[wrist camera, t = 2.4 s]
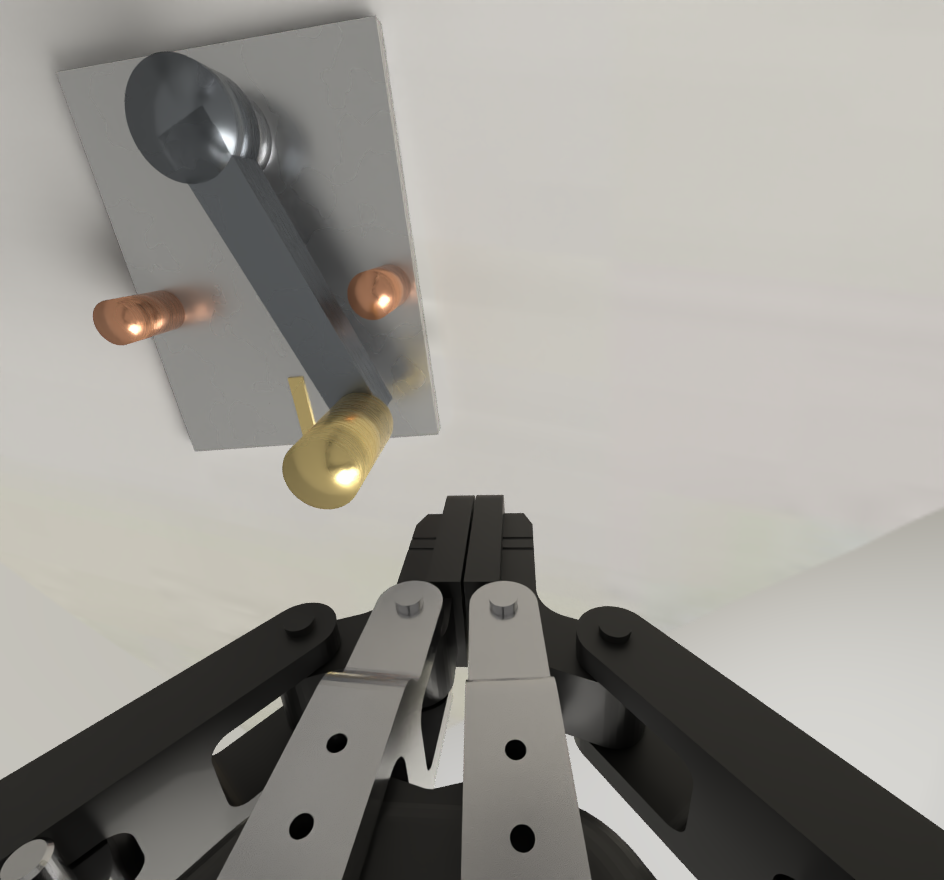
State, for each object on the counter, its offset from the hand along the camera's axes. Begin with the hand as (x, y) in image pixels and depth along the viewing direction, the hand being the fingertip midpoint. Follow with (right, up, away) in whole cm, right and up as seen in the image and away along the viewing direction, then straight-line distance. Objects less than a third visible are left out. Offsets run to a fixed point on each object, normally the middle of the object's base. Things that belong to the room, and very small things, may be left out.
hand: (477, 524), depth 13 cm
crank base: (-9, +10, +9) cm, 16 cm away
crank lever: (-7, +9, +7) cm, 14 cm away
